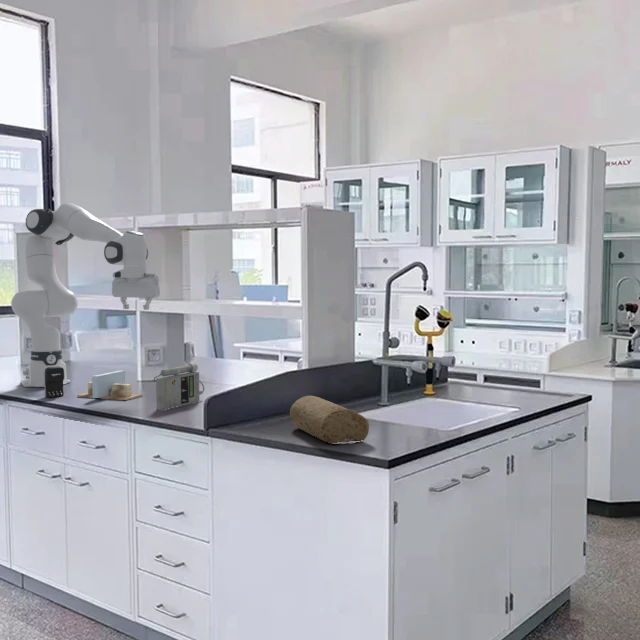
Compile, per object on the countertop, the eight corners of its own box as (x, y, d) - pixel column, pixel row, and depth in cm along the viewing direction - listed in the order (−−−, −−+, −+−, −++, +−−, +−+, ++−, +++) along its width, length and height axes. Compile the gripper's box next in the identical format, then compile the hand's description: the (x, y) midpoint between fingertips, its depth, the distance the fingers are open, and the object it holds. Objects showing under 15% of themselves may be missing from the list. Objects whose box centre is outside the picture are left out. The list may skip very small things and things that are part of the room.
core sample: (329, 425, 228) (329, 392, 227) (370, 443, 204) (370, 407, 203) (286, 429, 222) (286, 396, 221) (323, 448, 198) (323, 411, 197)
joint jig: (77, 397, 278) (76, 383, 278) (94, 392, 288) (94, 380, 287) (125, 400, 270) (125, 387, 270) (142, 396, 279) (142, 383, 279)
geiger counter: (164, 370, 249) (210, 361, 271) (150, 368, 252) (196, 360, 274) (165, 411, 250) (211, 399, 272) (150, 409, 253) (197, 398, 275)
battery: (47, 398, 276) (47, 367, 275) (43, 397, 278) (42, 366, 278) (66, 396, 280) (65, 366, 279) (62, 395, 283) (61, 365, 282)
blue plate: (97, 398, 271) (97, 376, 270) (92, 397, 272) (92, 376, 271) (125, 391, 286) (124, 370, 285) (120, 391, 287) (119, 370, 286)
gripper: (162, 273, 286) (163, 309, 287) (119, 273, 294) (120, 308, 295) (153, 273, 281) (153, 310, 282) (109, 273, 289) (109, 309, 290)
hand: (136, 309), depth 289 cm, fingers open, 8 cm apart
